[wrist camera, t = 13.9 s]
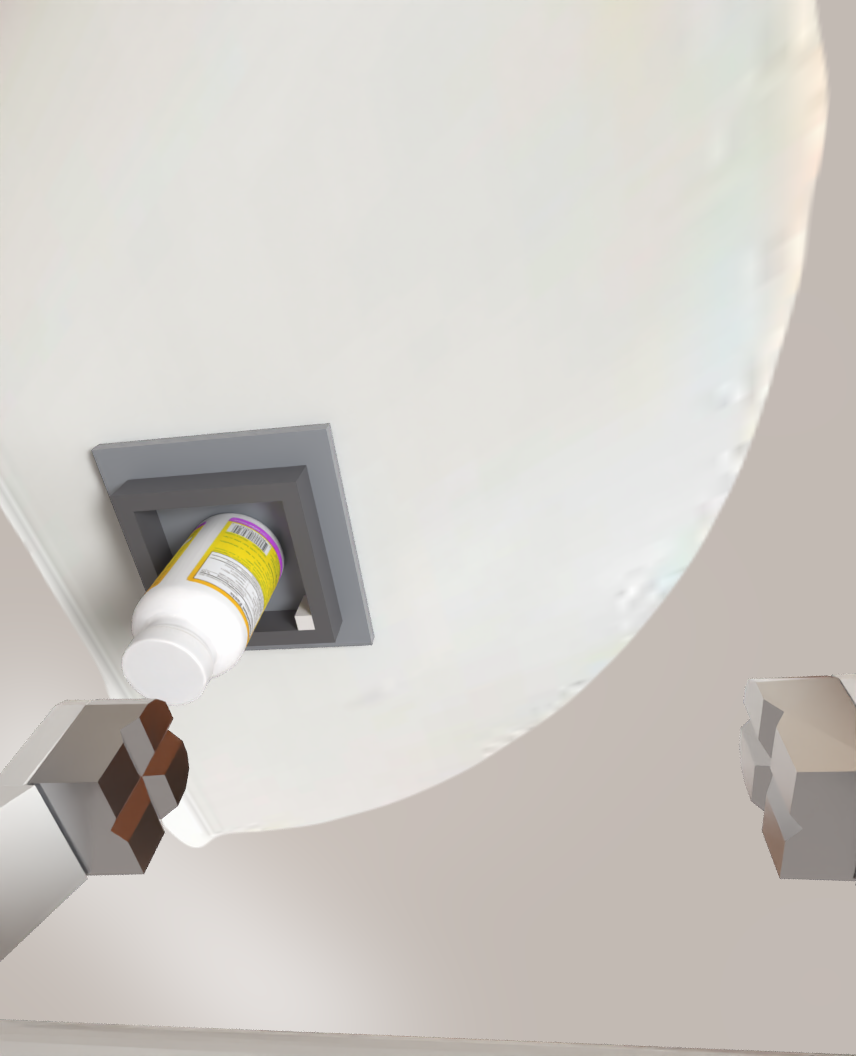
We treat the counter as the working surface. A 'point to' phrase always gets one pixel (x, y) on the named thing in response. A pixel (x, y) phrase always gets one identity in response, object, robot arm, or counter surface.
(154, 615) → the supplement bottle
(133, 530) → the pocket plate
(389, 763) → the counter surface
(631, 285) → the counter surface
